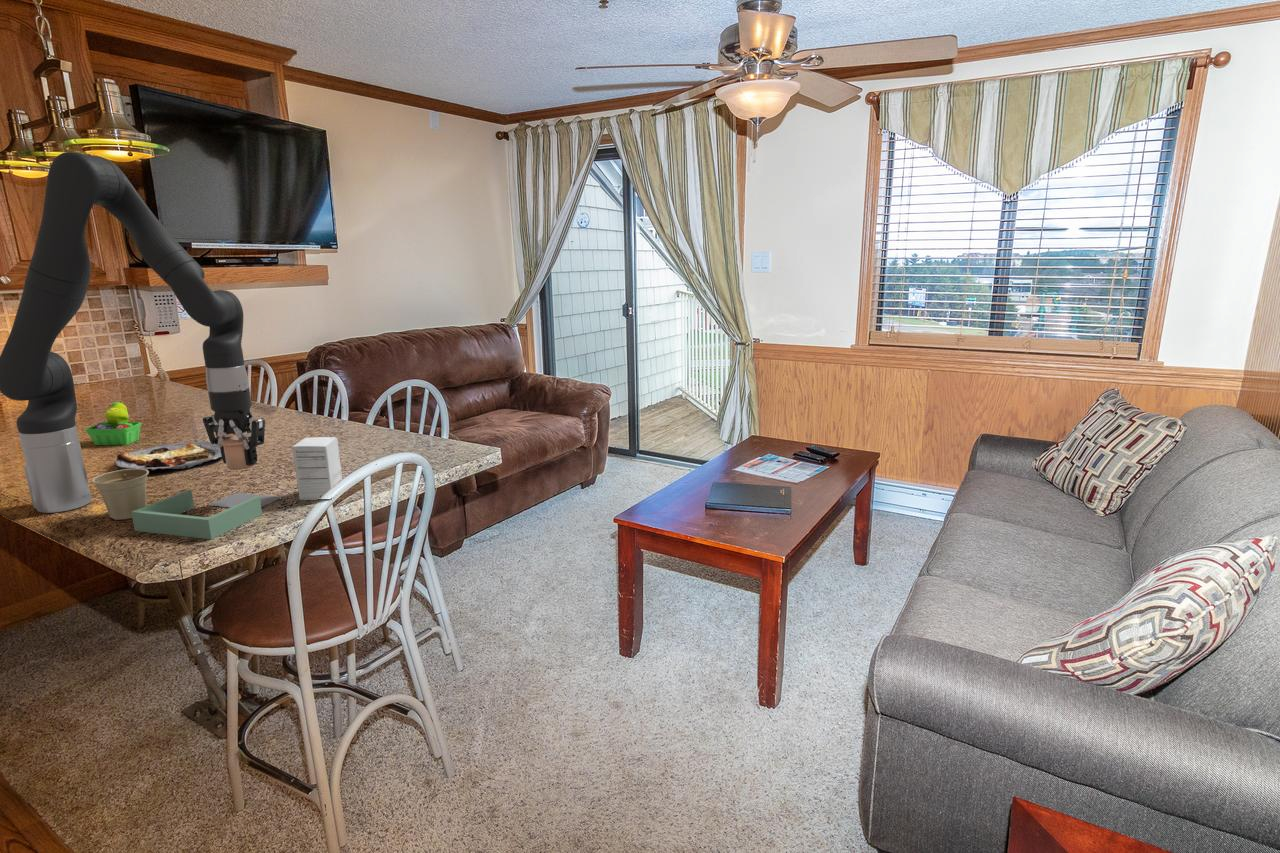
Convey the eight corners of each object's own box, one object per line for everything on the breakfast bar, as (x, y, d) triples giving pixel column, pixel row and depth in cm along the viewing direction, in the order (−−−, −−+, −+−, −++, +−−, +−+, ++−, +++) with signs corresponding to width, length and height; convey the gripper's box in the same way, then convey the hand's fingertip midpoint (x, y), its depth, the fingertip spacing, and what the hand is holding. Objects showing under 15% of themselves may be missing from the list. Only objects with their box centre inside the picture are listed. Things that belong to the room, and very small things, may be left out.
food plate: (133, 482, 161) (131, 467, 160) (101, 464, 174) (99, 451, 174) (245, 460, 180) (243, 447, 179) (208, 445, 194) (206, 434, 193)
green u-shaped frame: (134, 530, 133) (131, 511, 132) (190, 507, 146) (187, 489, 145) (211, 539, 129) (208, 520, 128) (262, 514, 142) (259, 496, 141)
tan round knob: (218, 469, 145) (214, 442, 143) (239, 461, 150) (235, 435, 149) (241, 471, 143) (237, 444, 142) (262, 463, 149) (258, 437, 147)
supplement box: (311, 489, 157) (304, 436, 154) (344, 488, 157) (338, 436, 154) (298, 500, 150) (291, 445, 147) (332, 500, 150) (326, 445, 147)
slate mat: (208, 505, 146) (207, 505, 146) (237, 493, 154) (236, 492, 154) (255, 510, 144) (255, 509, 144) (282, 497, 151) (282, 497, 151)
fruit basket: (86, 446, 190) (78, 407, 187) (109, 438, 198) (101, 400, 196) (128, 446, 190) (120, 407, 187) (149, 438, 199) (142, 400, 196)
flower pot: (99, 527, 135) (90, 486, 133) (100, 512, 142) (92, 473, 140) (156, 516, 140) (149, 477, 138) (155, 503, 148) (148, 465, 145)
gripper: (185, 389, 140) (198, 466, 145) (243, 392, 137) (255, 471, 142) (214, 382, 147) (226, 456, 152) (270, 385, 144) (281, 460, 149)
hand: (240, 463), depth 147 cm, fingers closed on tan round knob, 5 cm apart
